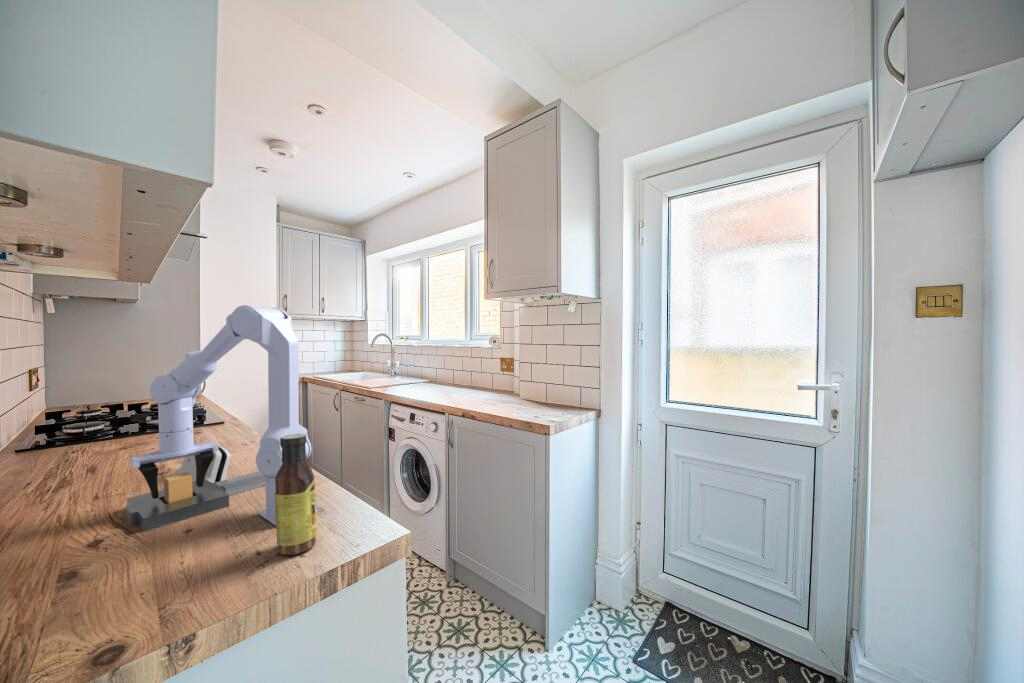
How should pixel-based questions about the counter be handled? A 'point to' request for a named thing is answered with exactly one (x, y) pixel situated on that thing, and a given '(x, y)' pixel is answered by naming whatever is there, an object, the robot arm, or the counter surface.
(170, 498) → the wedge pin
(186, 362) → the robot arm
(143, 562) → the counter surface
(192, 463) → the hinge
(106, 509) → the counter surface
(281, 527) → the sauce bottle
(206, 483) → the grey mounting plate
